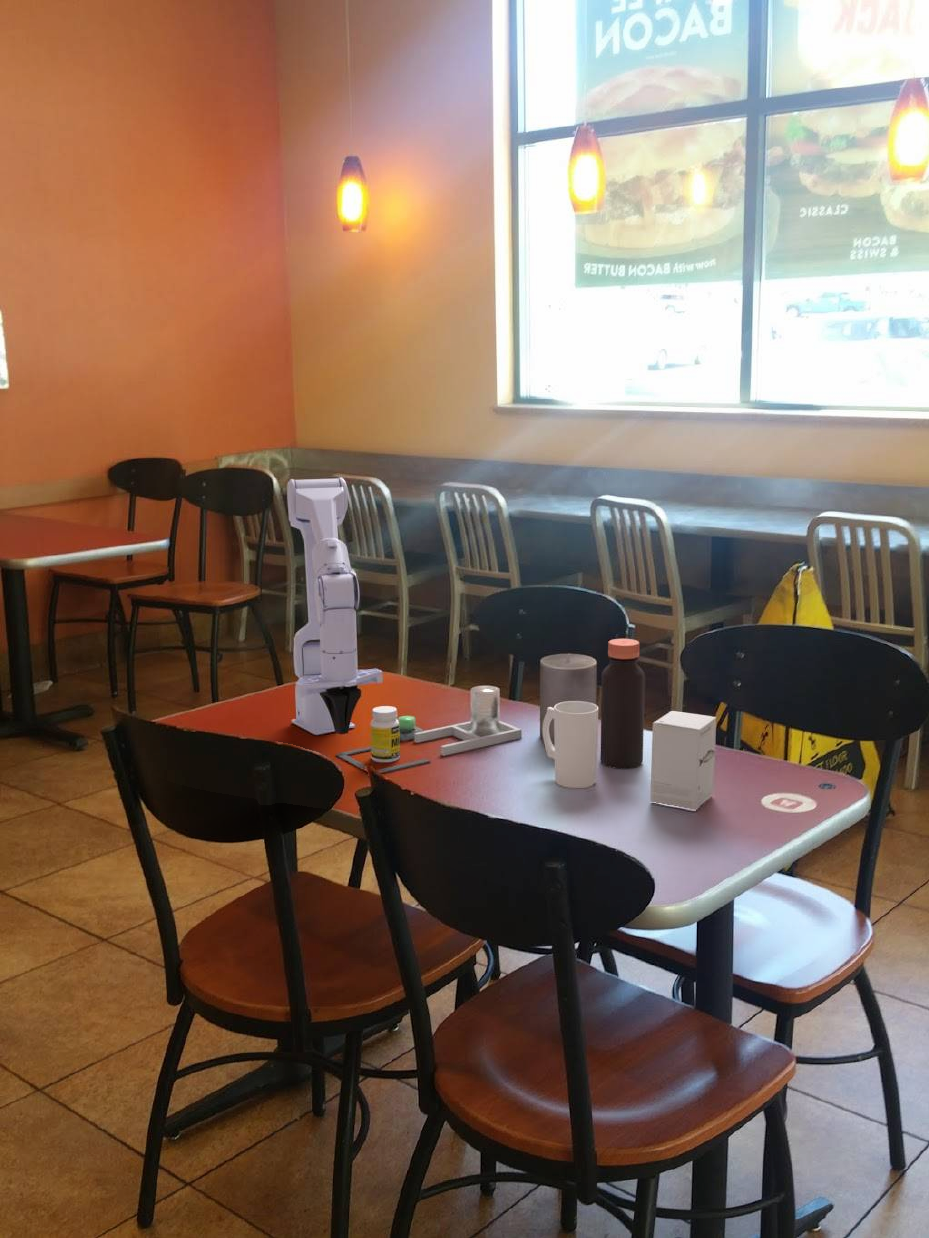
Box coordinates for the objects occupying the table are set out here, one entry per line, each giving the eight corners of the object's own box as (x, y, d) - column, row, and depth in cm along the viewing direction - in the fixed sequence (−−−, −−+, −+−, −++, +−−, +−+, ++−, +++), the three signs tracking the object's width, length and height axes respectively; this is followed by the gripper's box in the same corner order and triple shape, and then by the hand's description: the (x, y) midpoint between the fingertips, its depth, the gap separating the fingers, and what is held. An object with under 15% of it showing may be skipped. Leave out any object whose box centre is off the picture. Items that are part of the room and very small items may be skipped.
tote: (335, 755, 204) (335, 753, 204) (391, 743, 210) (391, 741, 210) (372, 775, 194) (372, 774, 194) (430, 762, 200) (430, 760, 200)
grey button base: (389, 734, 214) (389, 728, 214) (410, 730, 217) (410, 723, 216) (402, 741, 211) (402, 734, 210) (424, 736, 213) (424, 730, 213)
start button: (394, 733, 214) (394, 717, 213) (409, 730, 216) (409, 714, 215) (403, 737, 211) (403, 722, 211) (418, 734, 213) (418, 719, 213)
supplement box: (696, 813, 178) (699, 729, 175) (648, 803, 181) (650, 721, 179) (714, 797, 184) (718, 716, 181) (668, 788, 188) (670, 708, 185)
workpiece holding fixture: (414, 741, 210) (414, 733, 210) (490, 724, 219) (490, 716, 219) (443, 755, 203) (443, 747, 203) (521, 737, 212) (521, 729, 212)
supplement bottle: (395, 764, 199) (394, 714, 198) (367, 762, 200) (366, 712, 199) (403, 754, 204) (402, 705, 202) (375, 752, 205) (374, 704, 203)
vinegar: (651, 761, 199) (654, 641, 195) (626, 772, 195) (628, 649, 190) (616, 752, 204) (619, 635, 200) (591, 762, 199) (593, 642, 195)
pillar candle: (546, 726, 218) (545, 644, 214) (600, 730, 215) (601, 647, 212) (534, 744, 209) (533, 659, 205) (591, 748, 206) (591, 662, 203)
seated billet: (465, 733, 214) (464, 688, 212) (488, 728, 216) (488, 684, 215) (481, 740, 210) (481, 695, 208) (505, 735, 212) (505, 690, 211)
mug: (606, 781, 191) (607, 707, 188) (578, 792, 186) (579, 716, 183) (557, 766, 198) (557, 694, 195) (528, 776, 193) (529, 703, 190)
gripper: (309, 661, 186) (312, 747, 189) (391, 647, 194) (393, 730, 197) (288, 652, 192) (291, 735, 195) (369, 639, 200) (371, 719, 203)
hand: (341, 732), depth 196 cm, fingers closed
